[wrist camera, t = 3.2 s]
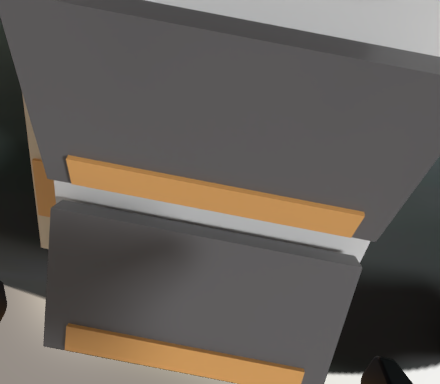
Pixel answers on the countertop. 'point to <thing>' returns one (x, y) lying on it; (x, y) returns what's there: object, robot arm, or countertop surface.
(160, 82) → the switch middle
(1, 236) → the countertop surface
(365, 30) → the switch unit
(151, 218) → the switch
